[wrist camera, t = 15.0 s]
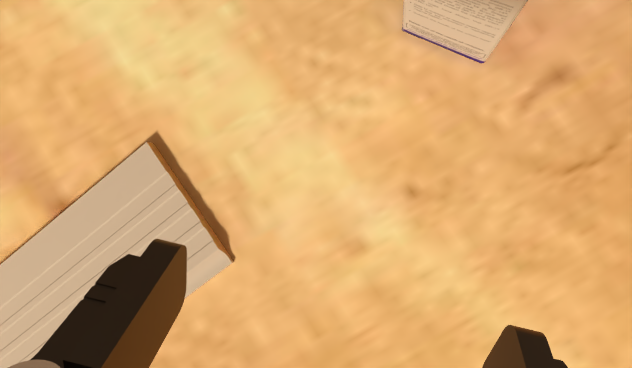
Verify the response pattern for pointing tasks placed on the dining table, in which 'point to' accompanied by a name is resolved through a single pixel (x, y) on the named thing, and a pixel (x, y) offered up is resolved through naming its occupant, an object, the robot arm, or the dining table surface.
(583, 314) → the dining table surface
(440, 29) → the supplement box
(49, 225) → the baseboard
